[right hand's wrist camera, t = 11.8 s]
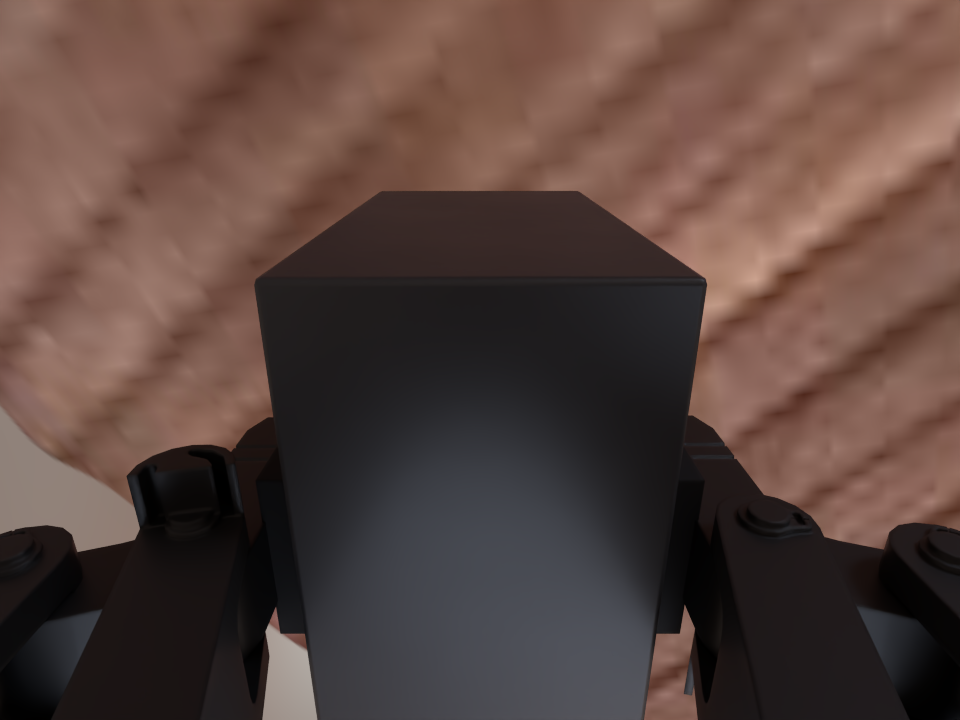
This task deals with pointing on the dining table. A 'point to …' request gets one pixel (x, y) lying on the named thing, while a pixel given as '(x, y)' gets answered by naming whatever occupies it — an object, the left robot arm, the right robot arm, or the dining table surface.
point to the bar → (480, 452)
